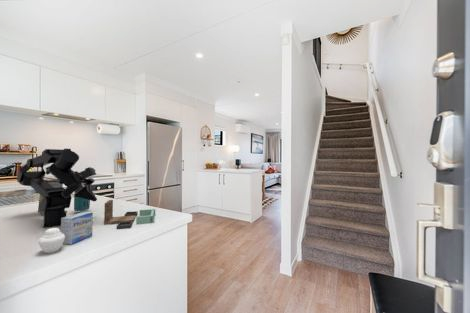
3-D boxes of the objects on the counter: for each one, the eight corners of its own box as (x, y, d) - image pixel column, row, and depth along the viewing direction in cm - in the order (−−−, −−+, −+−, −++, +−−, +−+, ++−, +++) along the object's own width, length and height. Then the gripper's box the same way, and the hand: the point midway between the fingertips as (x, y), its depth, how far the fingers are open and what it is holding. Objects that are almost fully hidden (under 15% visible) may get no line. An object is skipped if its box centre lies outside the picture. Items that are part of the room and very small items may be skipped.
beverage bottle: (83, 214, 99) (84, 173, 99) (69, 214, 99) (70, 173, 99) (92, 210, 106) (93, 172, 106) (80, 210, 106) (80, 172, 106)
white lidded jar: (56, 245, 66) (56, 223, 66) (69, 248, 64) (70, 225, 64) (32, 253, 60) (32, 230, 60) (46, 257, 58) (47, 232, 58)
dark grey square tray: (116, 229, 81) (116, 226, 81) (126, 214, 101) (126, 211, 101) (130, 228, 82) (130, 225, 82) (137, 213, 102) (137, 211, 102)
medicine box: (71, 245, 66) (71, 218, 66) (60, 243, 67) (60, 217, 67) (92, 236, 74) (93, 212, 74) (82, 234, 75) (83, 211, 75)
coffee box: (37, 212, 100) (40, 179, 101) (53, 210, 105) (56, 179, 106) (43, 215, 95) (47, 180, 96) (60, 213, 101) (63, 180, 101)
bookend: (104, 224, 86) (104, 203, 86) (108, 219, 92) (109, 199, 92) (133, 222, 89) (133, 202, 89) (135, 218, 96) (135, 198, 96)
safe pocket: (136, 224, 87) (136, 217, 87) (139, 216, 99) (139, 209, 99) (153, 222, 89) (153, 215, 89) (155, 215, 101) (155, 208, 101)
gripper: (72, 162, 77) (105, 190, 80) (90, 160, 95) (116, 183, 98) (46, 183, 74) (81, 211, 78) (69, 177, 92) (97, 201, 96)
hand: (96, 200), depth 88 cm, fingers closed
